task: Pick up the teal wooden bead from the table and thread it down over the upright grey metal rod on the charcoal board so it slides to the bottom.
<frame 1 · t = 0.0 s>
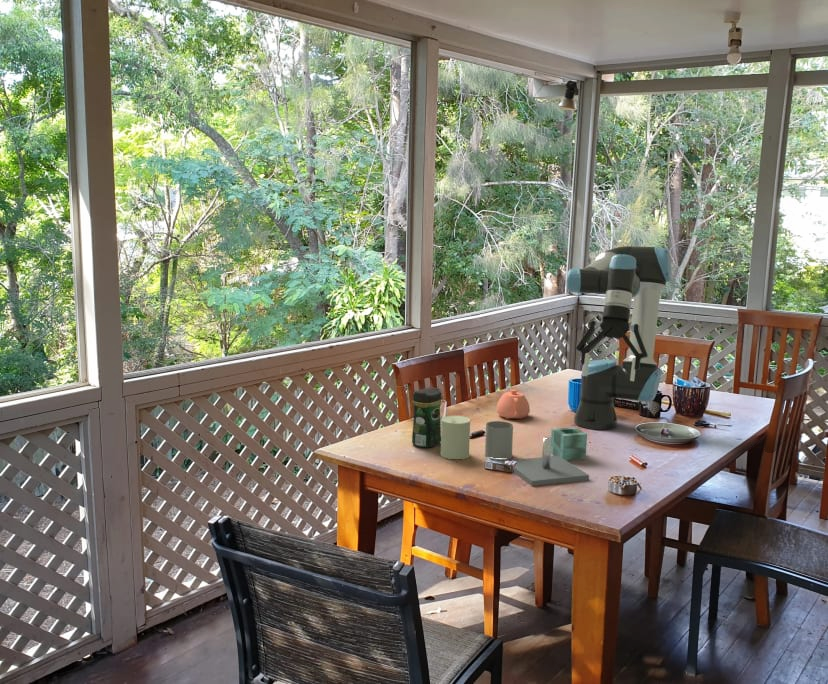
hand: (608, 378, 223), 28 cm above the table, tool tilted 20°, fingers open, 13 cm apart
cup: (498, 456, 239), on the table
can: (454, 455, 239), on the table
bead: (567, 456, 240), on the table
board: (545, 472, 224), on the table
coffee jar: (426, 444, 249), on the table
rod: (546, 452, 223), on the board, point 6 cm above the table
sugar bowl: (513, 417, 284), on the table
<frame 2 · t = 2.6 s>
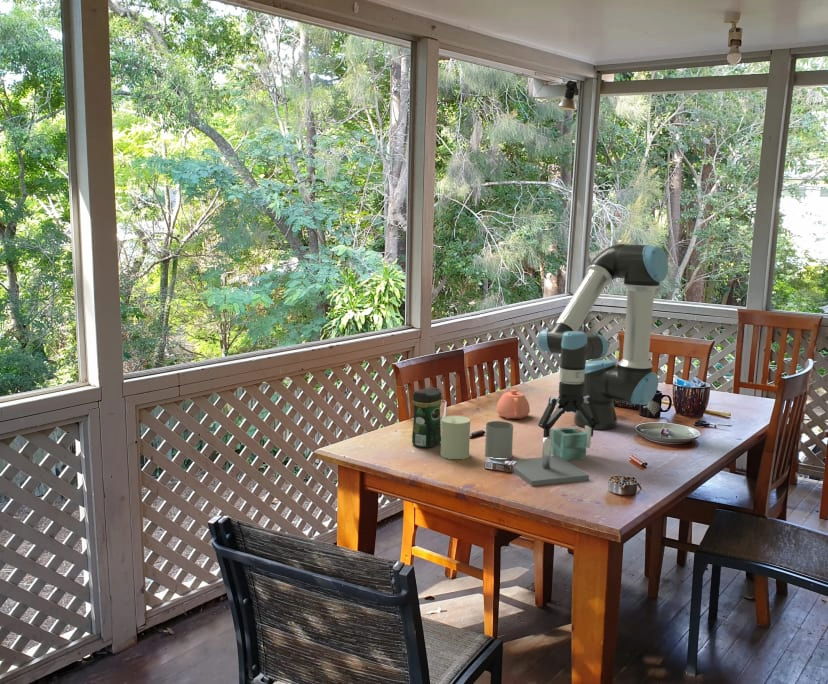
hand: (567, 448, 239), 3 cm above the table, tool pointing down, fingers open, 13 cm apart
nothing on the table moved.
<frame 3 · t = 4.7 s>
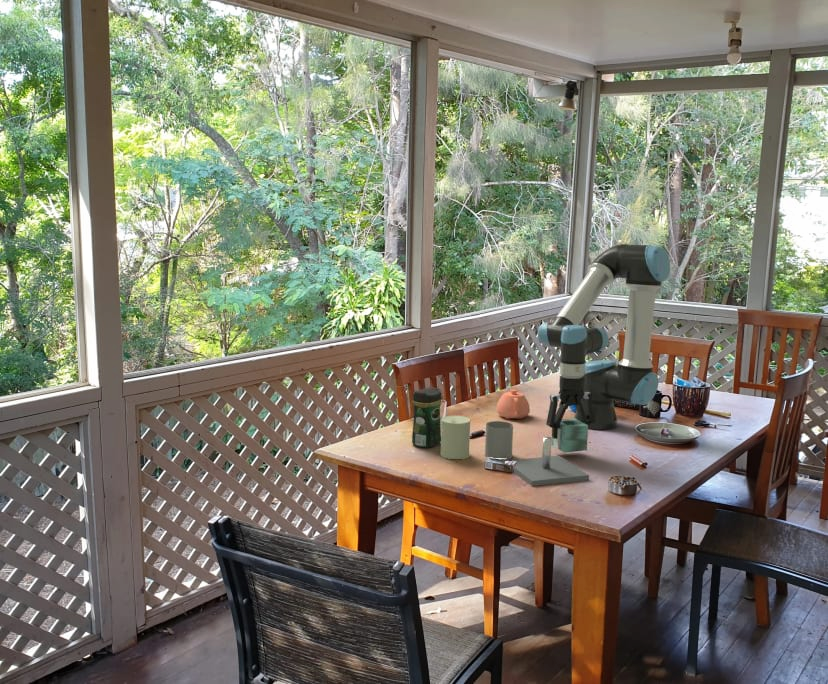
hand: (569, 446, 240), 3 cm above the table, tool pointing down, fingers closed on bead, 8 cm apart
bead: (569, 447, 240), point 3 cm above the table, touching gripper
everything else where it was.
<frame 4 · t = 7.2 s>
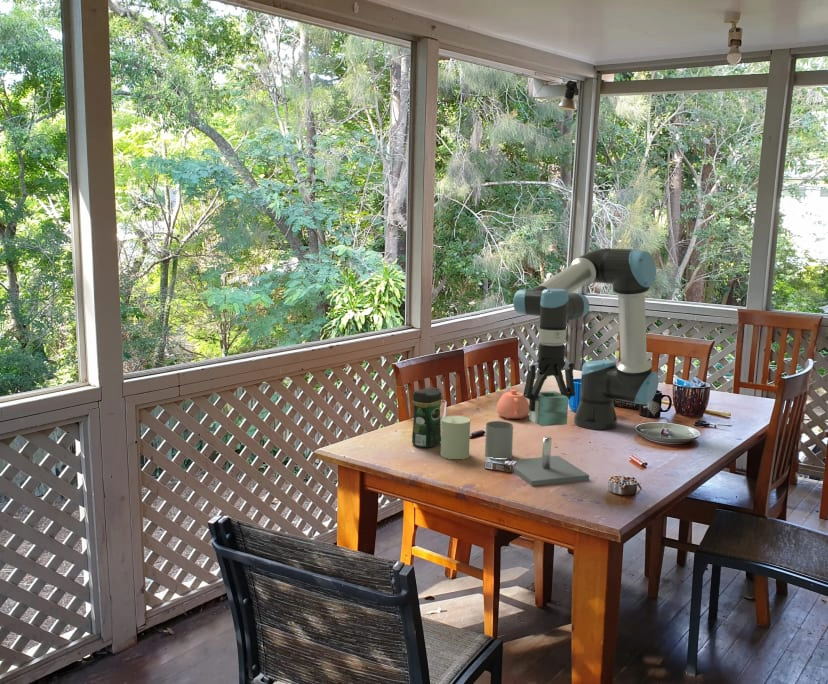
hand: (547, 421, 222), 16 cm above the table, tool pointing down, fingers closed on bead, 8 cm apart
bead: (547, 421, 222), point 15 cm above the table, touching gripper
everything else where it was.
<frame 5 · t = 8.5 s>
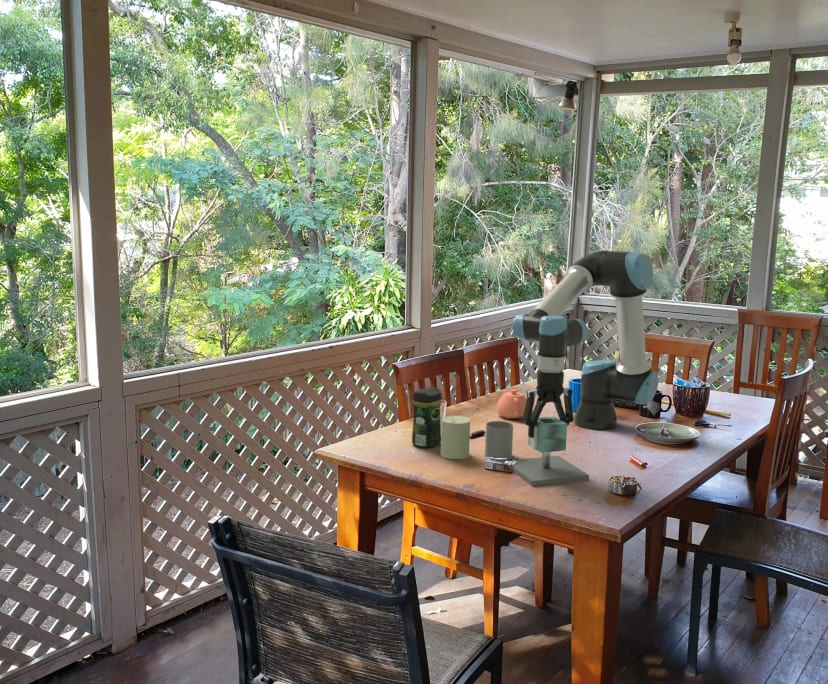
hand: (546, 446, 223), 8 cm above the table, tool pointing down, fingers closed on bead, 8 cm apart
bead: (546, 447, 223), point 8 cm above the table, touching gripper
everything else where it was.
when the fingers open (7 cm above the table, at t = 9.5 s): bead drops 5 cm, resting on board.
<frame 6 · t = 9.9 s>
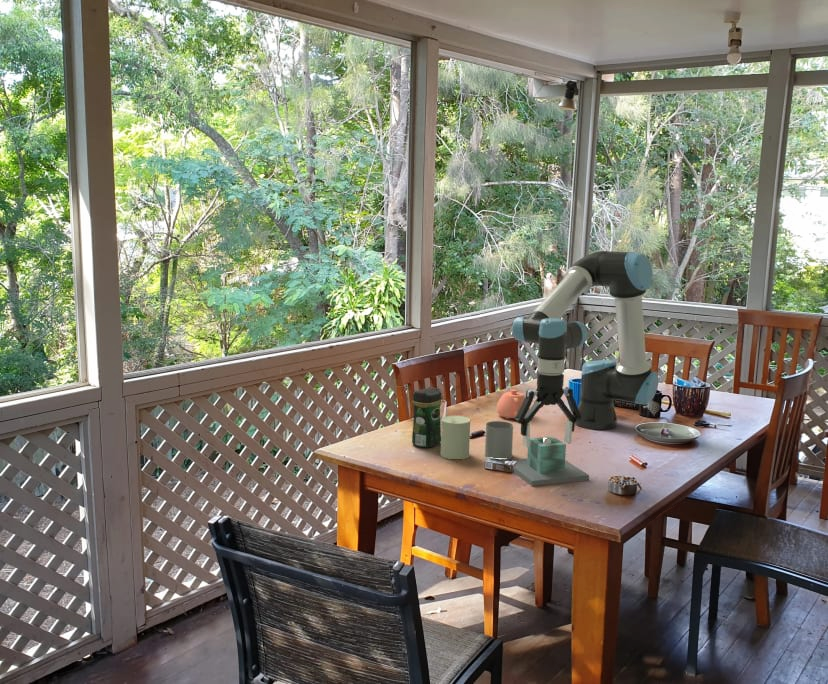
hand: (547, 444, 223), 9 cm above the table, tool pointing down, fingers open, 13 cm apart
bead: (545, 467, 224), point 1 cm above the table, touching board
everything else where it was.
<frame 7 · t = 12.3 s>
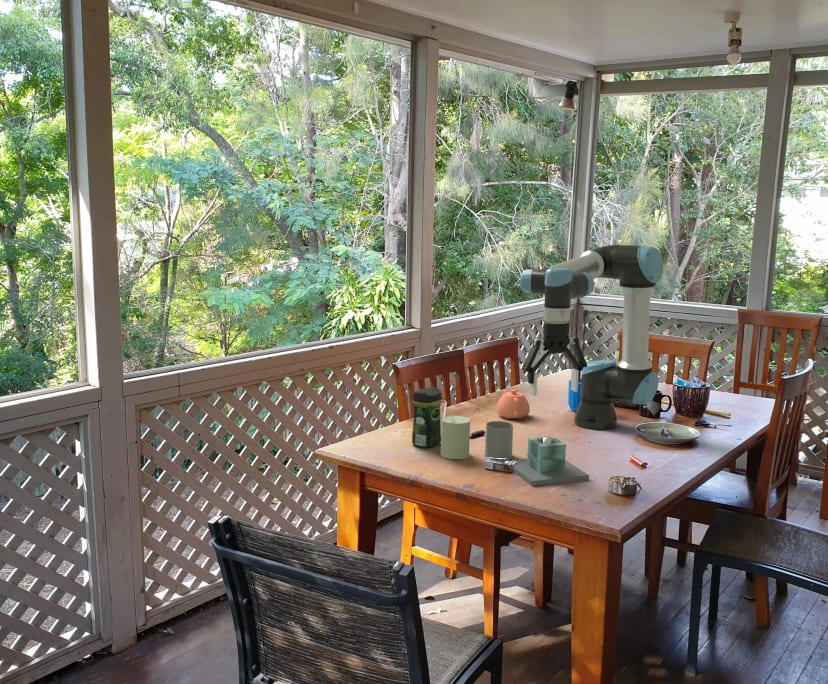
hand: (553, 392, 226), 23 cm above the table, tool pointing down, fingers open, 13 cm apart
nothing on the table moved.
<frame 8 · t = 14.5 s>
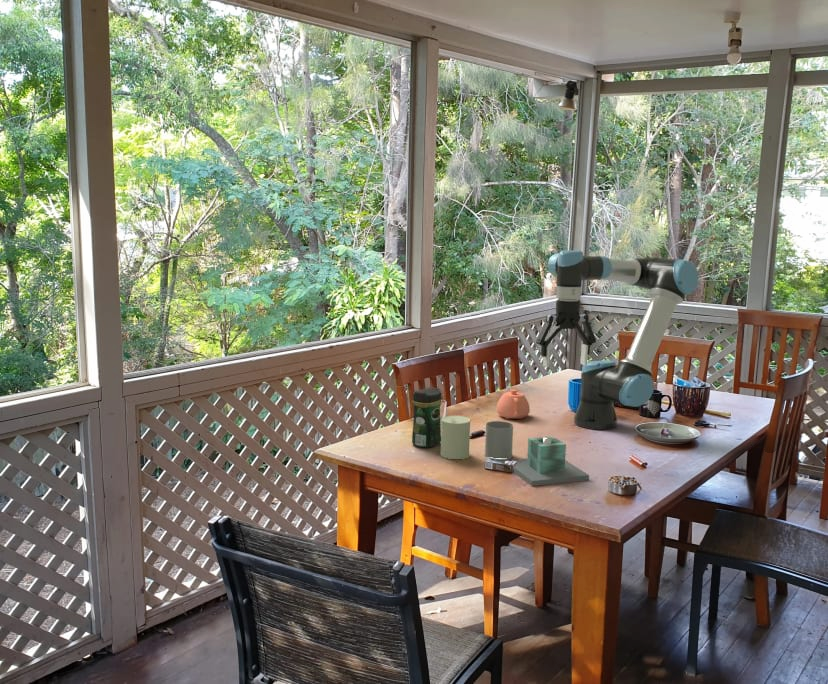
hand: (564, 365, 246), 27 cm above the table, tool pointing down, fingers open, 13 cm apart
nothing on the table moved.
at the end: bead 0.1 cm off-centre on the rod, point 1.5 cm above the rod's base; bead tilted 0°; the gripper is holding nothing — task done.
